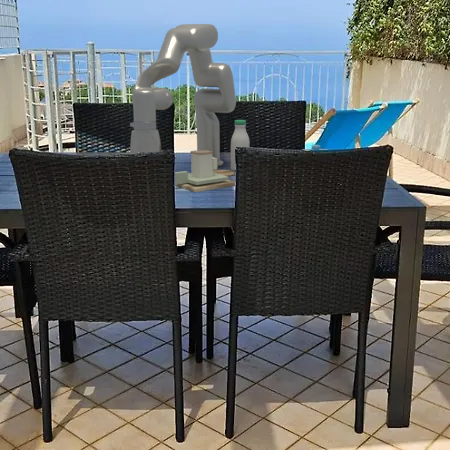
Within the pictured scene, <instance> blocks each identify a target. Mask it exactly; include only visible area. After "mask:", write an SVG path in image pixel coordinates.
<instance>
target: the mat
mask: <svg viewBox="0 0 450 450" xmlns="http://www.w3.org/2000/svg"><path fill="white" fill-rule="evenodd" d="M213 173H217V174H220V175H224V176H228V177H232V176H234V175H235V171H234V170H231V169H230V170H229V169H215V170H213Z"/></svg>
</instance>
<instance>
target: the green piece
mask: <svg viewBox="0 0 450 450" xmlns="http://www.w3.org/2000/svg"><path fill="white" fill-rule="evenodd" d="M174 172H175V171H174ZM227 180H230V176H224V175H220V174H217V173H213V176H212V177H205V178H197V177H194V176H192V175H191V172H189V171H187V170H183V171H182V170H181V171H176V172H175V185H177V184H184V183H191V184H194V185H201V184H207V183H214V182H220V181H227Z"/></svg>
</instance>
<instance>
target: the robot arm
mask: <svg viewBox="0 0 450 450" xmlns="http://www.w3.org/2000/svg"><path fill="white" fill-rule="evenodd" d="M218 38H219V31H218V30H217V27H216V26H215V25H213V24H211V23H200V24H199V23H187V24H186V23H185V24H179V25H176V26H175V27H173V28H172V27H171V28H170V29H168V30H167V32H166V33H165V36H164V39H163V40H162V41H163V42H162V44H161V47H160V50H159V52H158V56H157V58H156V60H155V61H154V62H152V63H151V64H150V65H149V66H148V67H146V68H145V70H143V71H142V72H140V74H139V76H138V78H137V80H136V82H135V85H134V87H133V89H132V96H131V97H132V98H131V99H132V105H133V122H130V123H129V127H132V128H133V129H132V130H131V135H130V150H129V151H130V152H129V153H138V152H157V151H161V152H162V145H161V137H160V133H159V130H158V129H157V111H156V110H158V111H159V110H160V111H161V110H163V111H164V110H167V109H169V108H170V107H171V106H172V105H173V100H174V98H173V94H172V92H171V90H170V89H168V88H164V87H152V86H153V85H154V84H155V83H157V82H159V81H160V80H163V79H165V78H168V77H171V76H173V75H174V74H177V72H179V70H180V66H181V64H182V62H183V57H184V55H185V53H186V52H187V53H188V56H189V60H190V65H191V71H192V77H193V82H194V83H195V85H196V86H198V87H201V88H200V89H198V90H197V91H196V92H195V93H194V95H193V104H194V105H193V106H194V110H195V117H196V150H208V151H212V152H213V154H212V157H214V158H217V167H220V166H223V165H224V161H223V160H221V159H220V158H221V157H220V154H221V153H220V152H221V151H220V148H221V147H220V146H221V145H220V121H219V119H218V116H217V115H216V113H225V114H226V113H227V114H229V113H232V112H233V111H234V110H235V108H236V105H237V98H236V91H235V83H234V76H233V70H232V69H231V67H230V65H229V64H228V63H225V62H214V61H213V58H212V53H211V49H212V48H214V47H215V46H216V44H217V42H218V40H219V39H218Z"/></svg>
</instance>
